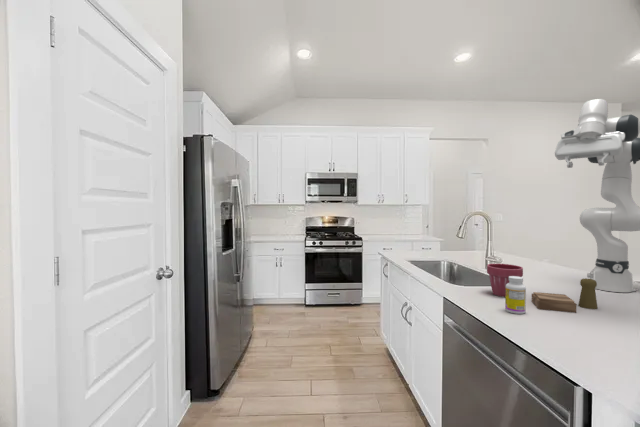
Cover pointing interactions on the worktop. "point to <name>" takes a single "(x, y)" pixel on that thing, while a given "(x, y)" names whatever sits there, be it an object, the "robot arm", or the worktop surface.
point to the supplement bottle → (515, 295)
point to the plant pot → (502, 276)
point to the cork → (588, 294)
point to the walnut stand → (553, 302)
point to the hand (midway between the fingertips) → (584, 165)
